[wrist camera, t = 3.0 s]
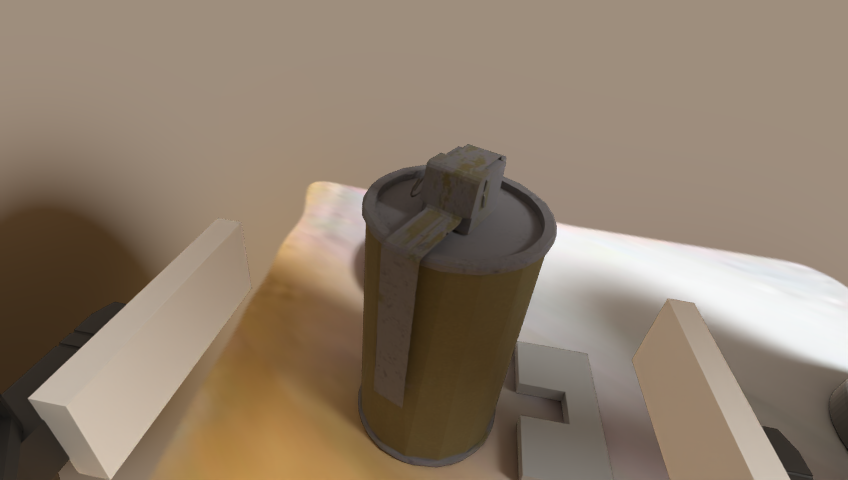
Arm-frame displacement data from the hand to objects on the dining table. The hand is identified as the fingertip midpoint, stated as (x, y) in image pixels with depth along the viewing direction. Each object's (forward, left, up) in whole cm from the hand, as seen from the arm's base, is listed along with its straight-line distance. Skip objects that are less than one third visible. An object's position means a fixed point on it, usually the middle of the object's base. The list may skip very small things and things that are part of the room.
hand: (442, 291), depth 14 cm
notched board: (-10, -11, -20) cm, 25 cm away
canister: (0, -10, -20) cm, 22 cm away
